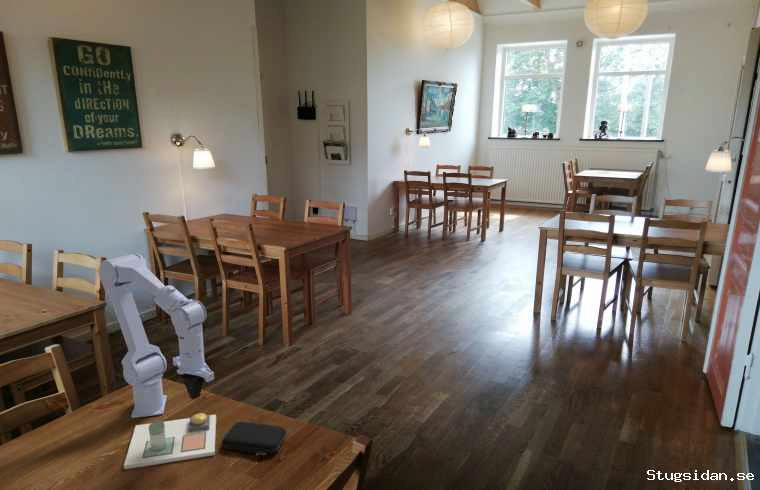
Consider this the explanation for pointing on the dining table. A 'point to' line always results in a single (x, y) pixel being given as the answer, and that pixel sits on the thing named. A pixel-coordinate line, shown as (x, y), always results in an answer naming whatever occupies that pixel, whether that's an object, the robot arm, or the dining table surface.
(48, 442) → the dining table surface
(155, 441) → the green bulb-shaped piece
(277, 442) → the carrying case or bag
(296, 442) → the dining table surface
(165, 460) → the colouring board
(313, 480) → the dining table surface
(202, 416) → the button
